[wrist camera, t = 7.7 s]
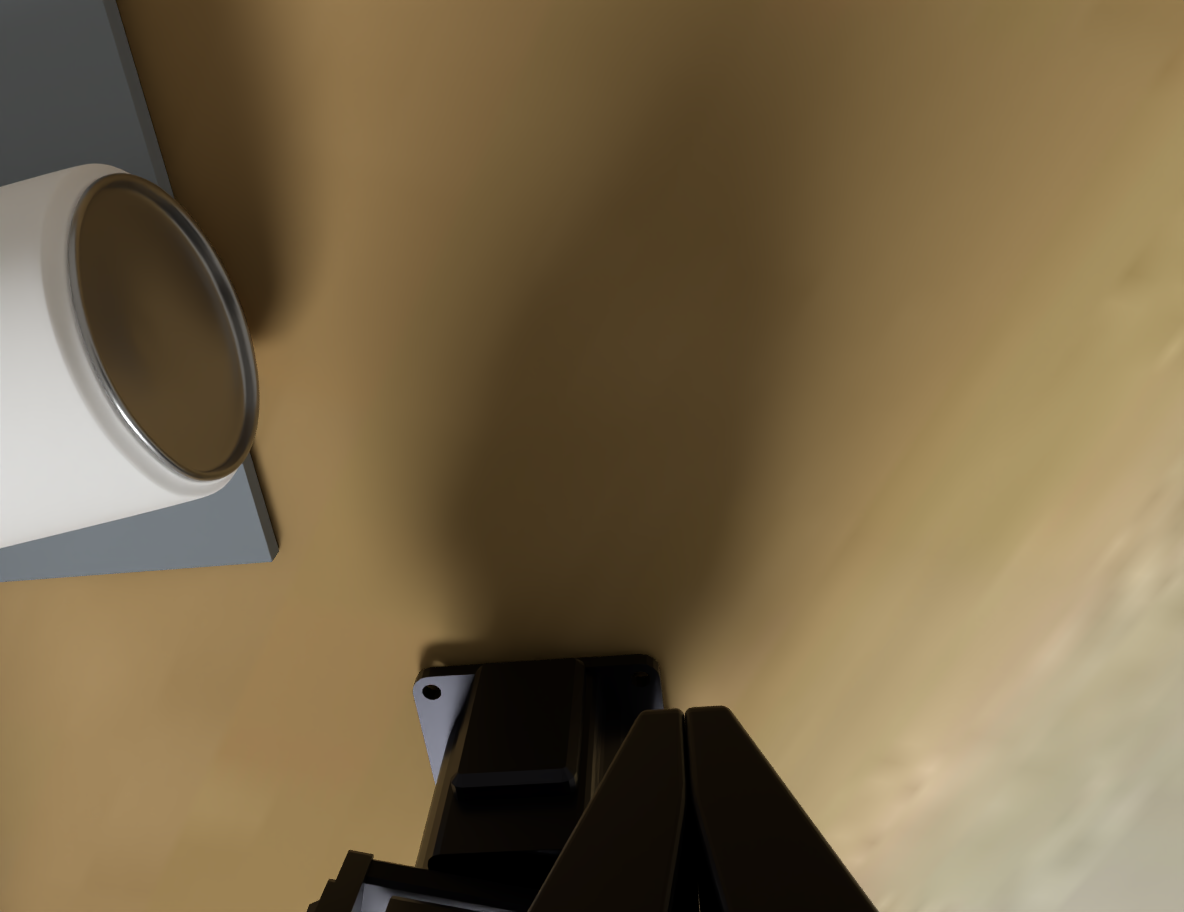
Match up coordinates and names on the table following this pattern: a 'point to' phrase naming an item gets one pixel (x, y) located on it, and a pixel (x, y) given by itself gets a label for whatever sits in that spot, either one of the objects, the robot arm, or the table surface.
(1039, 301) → the table surface
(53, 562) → the mat
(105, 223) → the can
